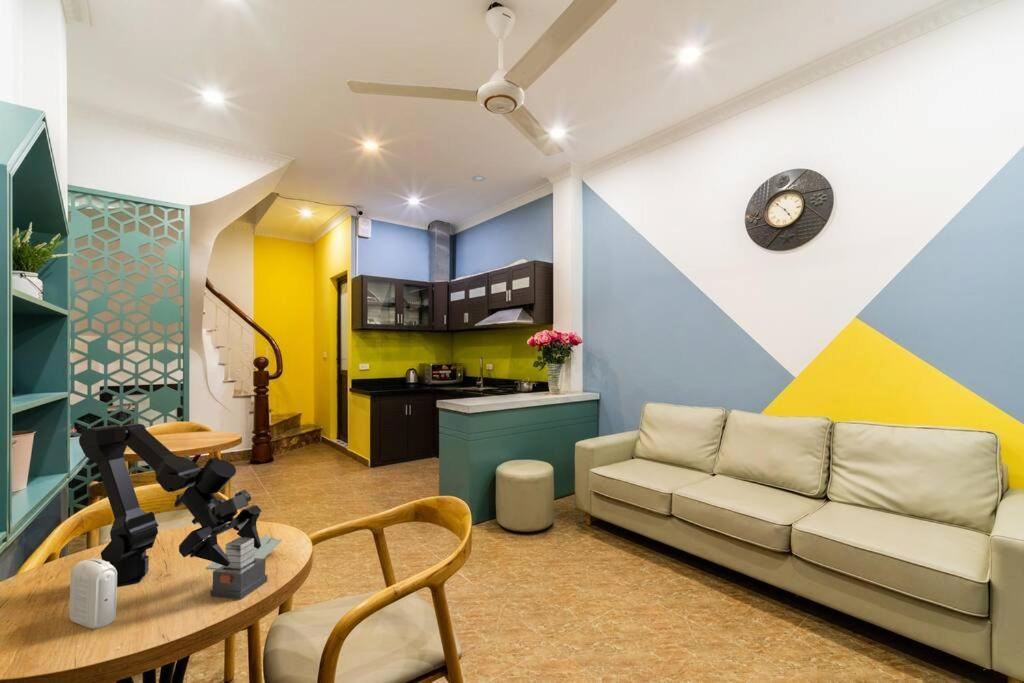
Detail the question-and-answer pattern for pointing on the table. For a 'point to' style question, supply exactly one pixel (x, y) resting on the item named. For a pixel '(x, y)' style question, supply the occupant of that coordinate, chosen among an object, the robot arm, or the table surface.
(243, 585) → the collar
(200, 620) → the table surface
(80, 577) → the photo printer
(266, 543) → the metal bracket
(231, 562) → the column
